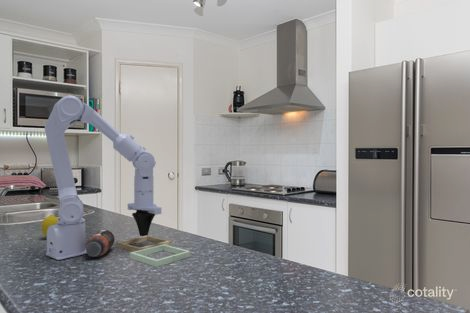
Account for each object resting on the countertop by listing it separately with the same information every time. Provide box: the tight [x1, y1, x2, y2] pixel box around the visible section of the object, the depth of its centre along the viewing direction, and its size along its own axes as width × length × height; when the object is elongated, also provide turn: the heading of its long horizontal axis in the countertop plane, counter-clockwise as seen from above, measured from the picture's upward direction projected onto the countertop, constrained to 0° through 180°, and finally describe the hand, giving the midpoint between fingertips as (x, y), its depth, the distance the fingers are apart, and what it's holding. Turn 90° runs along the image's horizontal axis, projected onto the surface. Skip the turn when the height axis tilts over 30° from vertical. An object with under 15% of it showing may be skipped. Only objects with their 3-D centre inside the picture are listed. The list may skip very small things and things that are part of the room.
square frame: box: [129, 244, 191, 268], centre depth 95 cm, size 12×12×2 cm
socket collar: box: [116, 235, 172, 253], centre depth 107 cm, size 12×12×2 cm
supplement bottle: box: [85, 229, 115, 258], centre depth 98 cm, size 6×6×11 cm
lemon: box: [41, 214, 60, 238], centre depth 116 cm, size 6×6×8 cm
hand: (143, 235), depth 107 cm, fingers closed
